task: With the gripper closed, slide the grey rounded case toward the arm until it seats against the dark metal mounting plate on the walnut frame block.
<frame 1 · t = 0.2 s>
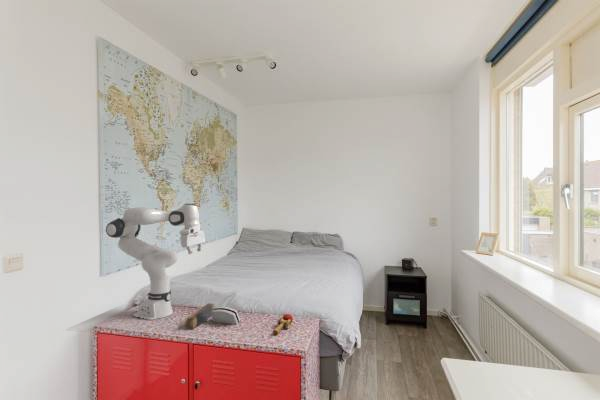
hand: (194, 252, 182), 39 cm above the cabinet top, tool pointing down, fingers open, 8 cm apart
grey rounded case: (225, 322, 174), on the cabinet top
frame block: (201, 320, 176), on the cabinet top
kendama: (282, 329, 165), on the cabinet top
mounting plate: (204, 320, 176), on the cabinet top
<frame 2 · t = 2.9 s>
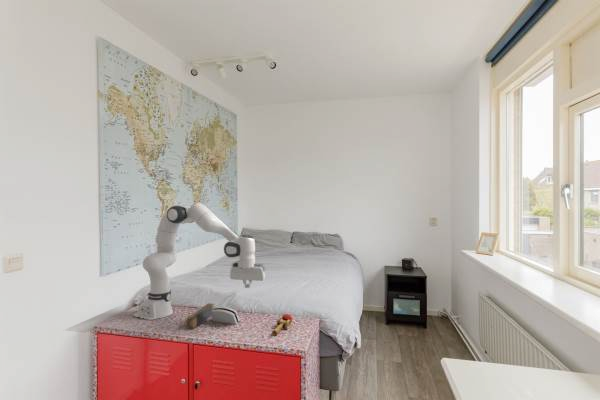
hand: (247, 287, 172), 21 cm above the cabinet top, tool pointing down, fingers closed
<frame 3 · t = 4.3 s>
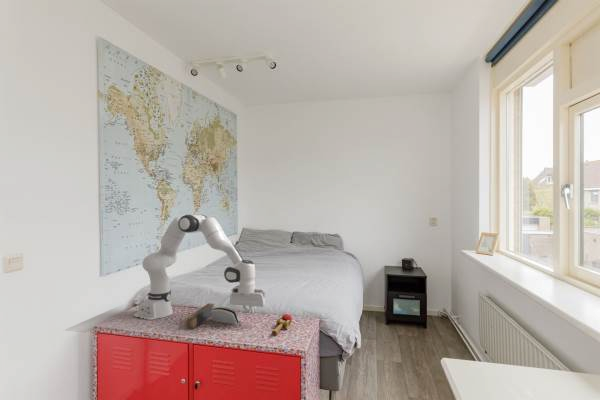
hand: (247, 313, 172), 6 cm above the cabinet top, tool pointing down, fingers closed
nothing on the cabinet top moved.
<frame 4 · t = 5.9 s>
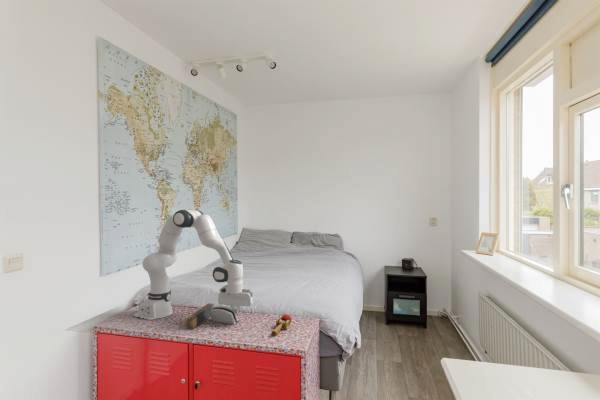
hand: (235, 312, 173), 6 cm above the cabinet top, tool pointing down, fingers closed
grey rounded case: (223, 322, 175), on the cabinet top, touching gripper
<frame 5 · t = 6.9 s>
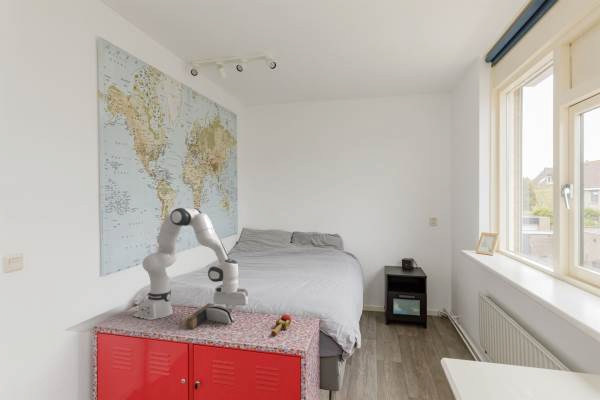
hand: (230, 311, 174), 6 cm above the cabinet top, tool pointing down, fingers closed
grey rounded case: (219, 321, 175), on the cabinet top, touching gripper
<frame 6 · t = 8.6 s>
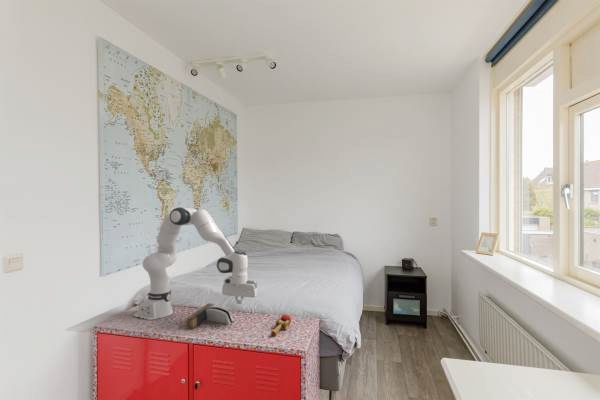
hand: (239, 303, 172), 11 cm above the cabinet top, tool pointing down, fingers closed
grey rounded case: (219, 322, 175), on the cabinet top
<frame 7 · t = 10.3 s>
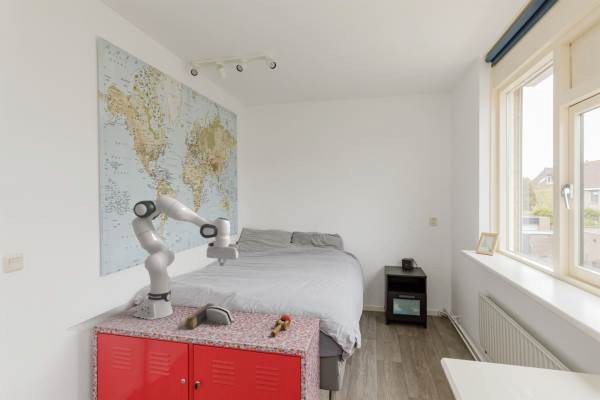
hand: (222, 265, 188), 30 cm above the cabinet top, tool pointing down, fingers closed
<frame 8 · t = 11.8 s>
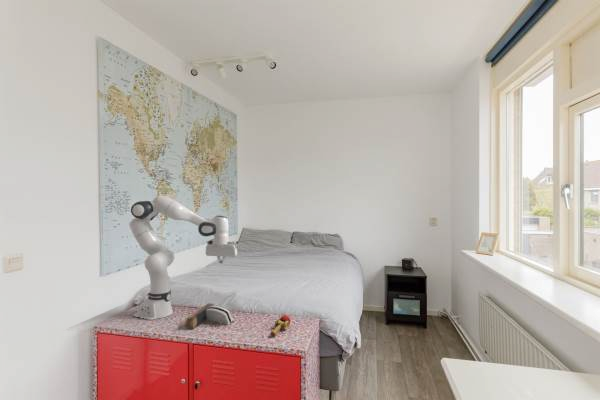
hand: (221, 263, 189), 31 cm above the cabinet top, tool pointing down, fingers closed
at the end: grey rounded case inside the target area (0.1 cm from its centre), on the cabinet top; grey rounded case tilted 0° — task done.
